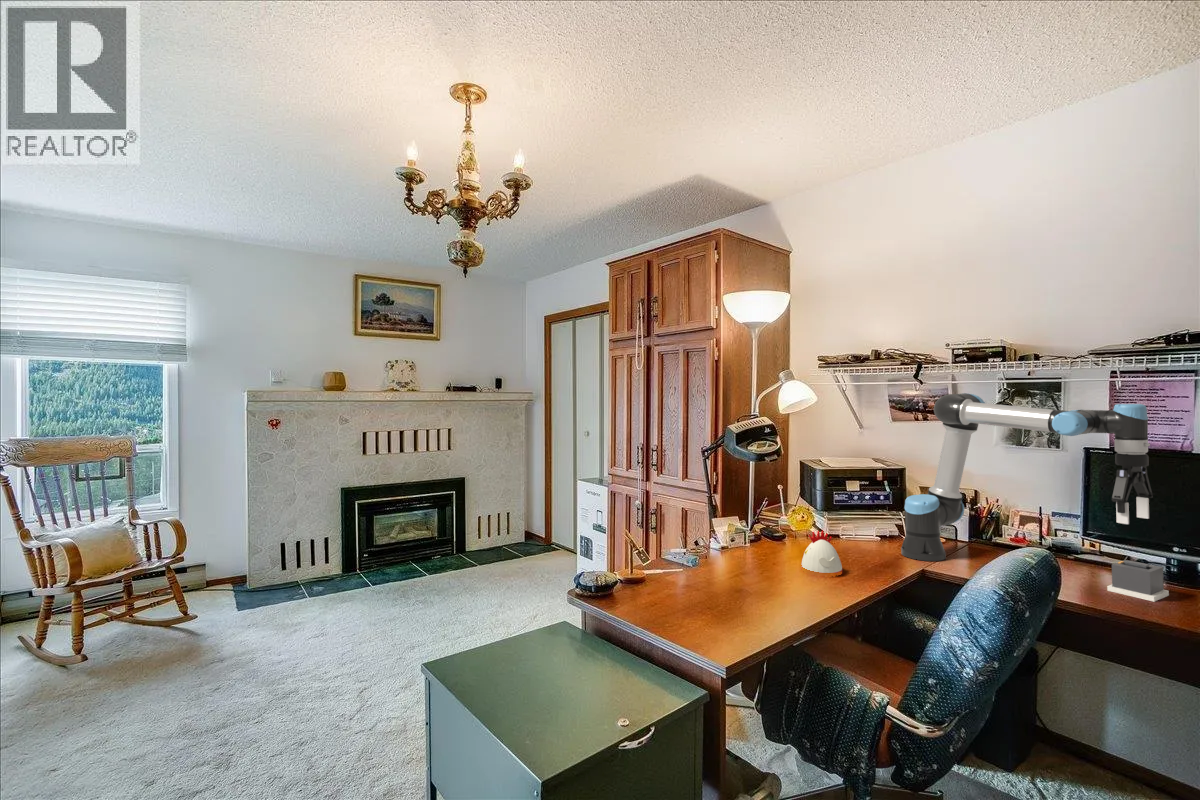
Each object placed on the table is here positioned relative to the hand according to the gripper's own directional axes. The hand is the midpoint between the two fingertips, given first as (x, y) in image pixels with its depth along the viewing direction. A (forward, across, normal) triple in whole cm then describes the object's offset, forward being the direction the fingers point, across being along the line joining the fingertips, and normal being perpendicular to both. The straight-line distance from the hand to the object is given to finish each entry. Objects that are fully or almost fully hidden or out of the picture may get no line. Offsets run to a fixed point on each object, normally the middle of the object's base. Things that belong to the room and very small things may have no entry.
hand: (1133, 520), depth 171 cm
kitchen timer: (+23, -65, +64) cm, 94 cm away
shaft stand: (+23, 0, -1) cm, 23 cm away
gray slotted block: (+21, 0, -1) cm, 21 cm away
